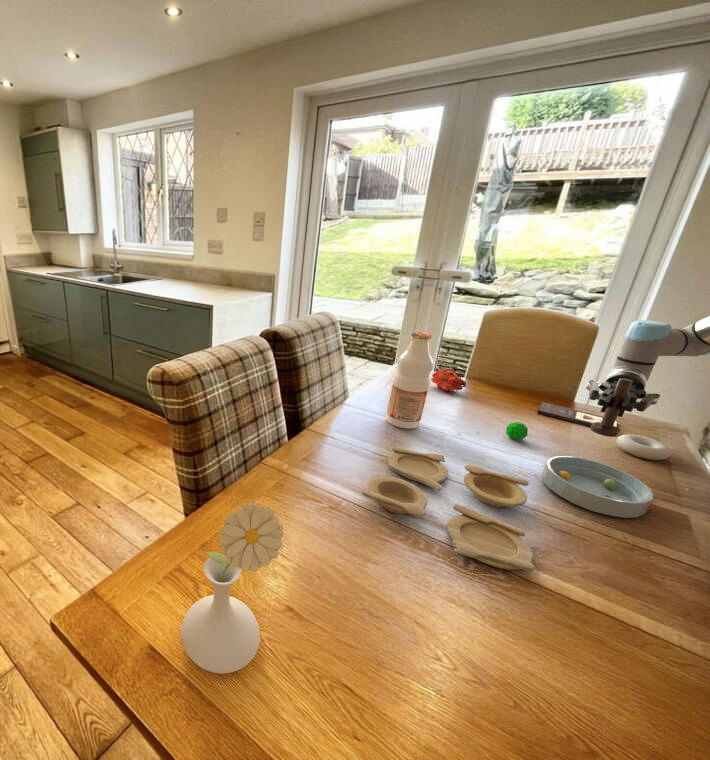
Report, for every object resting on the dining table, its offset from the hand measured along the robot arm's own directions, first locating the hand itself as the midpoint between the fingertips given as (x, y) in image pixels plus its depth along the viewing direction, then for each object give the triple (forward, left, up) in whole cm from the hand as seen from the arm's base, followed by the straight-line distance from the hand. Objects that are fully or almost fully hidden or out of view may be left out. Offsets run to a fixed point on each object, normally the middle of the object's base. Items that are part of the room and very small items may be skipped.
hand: (613, 409), depth 91 cm
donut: (-8, -22, -17) cm, 29 cm away
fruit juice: (+41, +10, -17) cm, 46 cm away
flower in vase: (+27, +98, -17) cm, 103 cm away
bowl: (-2, +12, -17) cm, 21 cm away
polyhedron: (+16, -5, -17) cm, 24 cm away
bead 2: (-5, +8, -15) cm, 17 cm away
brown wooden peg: (0, -6, -8) cm, 10 cm away
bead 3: (-5, +16, -15) cm, 23 cm away
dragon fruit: (+42, -28, -17) cm, 53 cm away
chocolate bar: (+7, -35, -17) cm, 39 cm away
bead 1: (+3, +12, -15) cm, 19 cm away
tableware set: (+18, +40, -17) cm, 47 cm away
